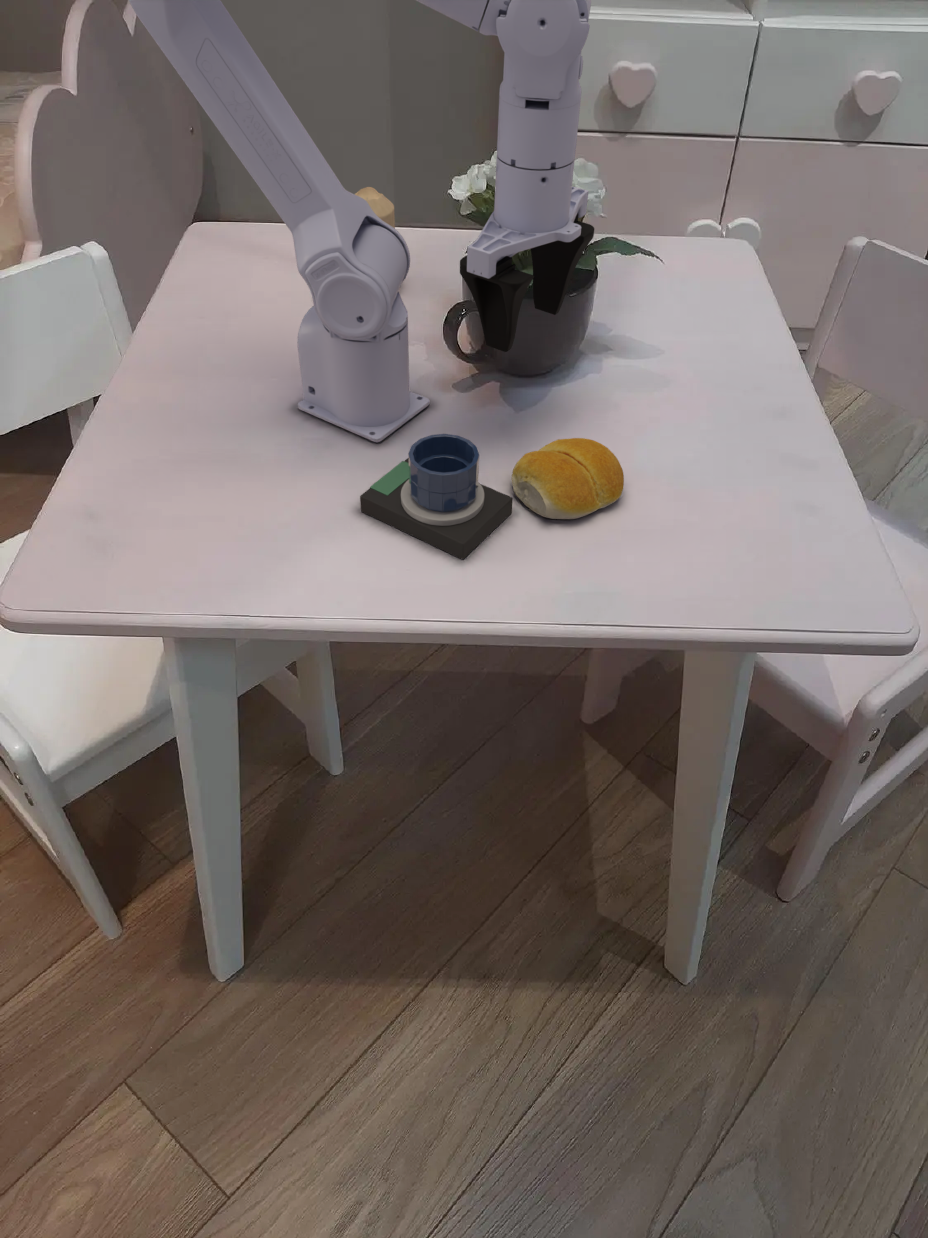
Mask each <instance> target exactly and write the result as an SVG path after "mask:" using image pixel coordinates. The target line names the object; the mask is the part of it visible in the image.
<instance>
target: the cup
mask: <svg viewBox="0 0 928 1238" xmlns="http://www.w3.org/2000/svg"><path fill="white" fill-rule="evenodd" d="M407 454H408V457H407V458H409V489H410V494H411V497H412V498H413V499H414V500H415V501H416V502H417V503H418V504H419V505H422V506H423V507H425V508H427V509H429V510H433V511H438V512H450V511H455V510H458V509H461V508H463V507H465V506H467V505H468V504H469V503H471V502H472V501H473V500H474V499H475V497H476V495H477V492H478V482H479V476H480V475H479V473H480V451H479V450H478V447H477V446H476V445H475V444H474V443H473V442H472V441H471V440H470V439H468V438H466V437H462V436H460V435H457V434H450V433H437V434H430V435H427V436H424V437H421V438H419V439H418V440H417V441H415V442H414V443H413V444H411V446H410V449H409V451H408V453H407Z"/></svg>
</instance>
